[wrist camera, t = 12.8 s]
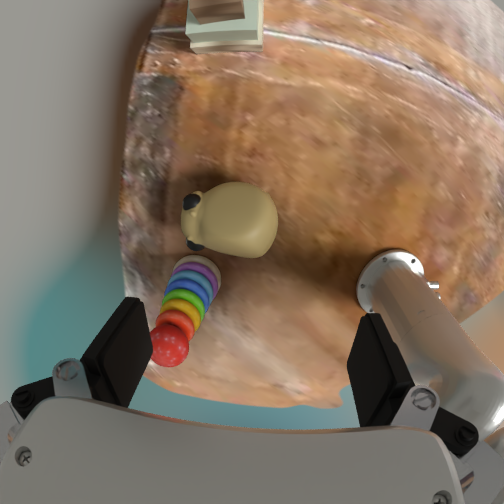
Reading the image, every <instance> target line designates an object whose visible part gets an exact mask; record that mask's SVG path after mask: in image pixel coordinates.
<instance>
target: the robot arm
mask: <svg viewBox="0 0 504 504" xmlns="http://www.w3.org/2000/svg"><path fill="white" fill-rule="evenodd" d="M438 287H439V283H438V282H437V281H431V282H429V281H428V280H427V279H426V278H425V276H424V270H423V266H422V264H421V262H420V261H419V260H418V258H417V257H416V256H415V255H413V254H412V253H410V252H409V251H405V250H400V249H395V250H389V251H386V252H383V253H381V254H379V255H378V256H376V257H375V258H373V259H372V260H371V261H370V262H369V263H368V264H367V265H366V266H365V267H364V269H363V270H362V272H361V274H360V276H359V278H358V282H357V287H356V293H357V298H358V301H359V303H360V305H361V307H362V308H363V309H364V310H365V311H366V312H367V313H366V315H365V316H362V317H361V320H360V323H359V326H358V330H357V333H356V336H355V339H354V342H353V346H352V349H351V352H350V355H349V358H348V361H347V370H348V374H349V379H350V383H351V387H352V391H353V395H354V400H355V405H356V409H357V413H358V419H359V424H360V427H358V428H342V429H318V430H284V429H259V428H245V427H234V426H233V427H232V426H224V425H215V424H208V423H200V422H194V421H187V420H181V419H176V418H170V417H165V416H160V415H155V414H151V413H146V412H142V411H138V410H134V409H129V408H128V406H129V404H130V401H131V399H132V397H133V395H134V392H135V390H136V388H137V385H138V384H139V381H140V379H141V377H142V375H143V373H144V371H145V369H146V367H147V364H148V362H149V360H150V358H151V356H152V354H153V345H152V341H151V336H150V332H149V327H148V323H147V318H146V313H145V308H144V304H143V302H140V299H139V298H135V297H125V299H124V300H123V301H122V302H121V304H120V305H119V306H118V308H117V309H116V310H115V312H114V313H113V314H112V316H111V317H110V318H109V320H108V321H107V322H106V324H105V325H104V326H103V328H102V329H101V330H100V332H99V333H98V335H97V336H96V337H95V339H94V340H93V342H92V343H91V344H90V346H89V347H88V349H87V350H86V351H85V353H84V354H83V356H82V358H81V359H80V361H79V360H77V359H75V358H67V359H64V360H61V361H60V362H58V363H57V364H56V365H55V366H54V368H53V372H52V375H53V376H52V377H49V378H46V379H43V380H39V381H37V382H33V383H31V384H27V385H24V386H21V387H19V388H18V389H16V390H15V391H14V393H13V395H12V397H11V402H10V403H9V402H8V401H6V402H4V403H2V404H1V405H0V504H504V427H502V428H500V429H499V430H497V431H495V429H497V428H498V427H499V426H500V424H501V423H502V422H503V421H504V375H503V374H502V372H501V371H500V370H499V369H498V368H497V367H496V366H495V365H494V364H493V363H492V362H491V361H490V359H489V358H488V357H487V356H486V355H484V354H483V352H482V351H481V350H480V349H479V348H478V347H477V346H476V345H475V344H474V342H473V341H472V340H471V339H470V337H469V336H468V335H467V333H466V332H465V331H464V330H463V328H462V327H461V326H460V324H459V323H458V322H457V320H456V319H455V318H454V316H453V315H452V314H451V312H450V311H449V310H448V309H447V307H446V306H445V305H444V303H443V302H442V301H441V300H440V294H439V293H438V292H434V291H433V290H432V289H438ZM414 382H415V383H418V384H421V385H418V386H415V384H414ZM494 431H495V432H494ZM493 432H494V433H493Z"/></svg>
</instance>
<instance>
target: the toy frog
mask: <svg viewBox="0 0 504 504" xmlns="http://www.w3.org/2000/svg"><path fill="white" fill-rule="evenodd" d="M181 229H182V232H183V234H184V236H185V237H186V244H187V246H188V247H189V248H190V249H191V250H193V251H200V250H202V249H204V248H205V247H206V248H209V249H211V250H214V251H217V252H220V253H224V254H229V255H234V256H239V257H246V258H257V257H261V256H262V255H264V254H265V253H266V252H267V251H268V250H269V248H270V247H271V245H272V243H273V241H274V239H275V237H276V233H277V229H278V214H277V210H276V207H275V204H274V202H273V200H272V199H271V197H270V195H269V193H267V192H265V191H264V190H262V189H261V188H259V187H257V186H255V185H253V184H250V183H245V182H228V183H223V184H220V185H218V186H216V187H214V188H212V189H211V190H209V191H207V192H206V193H203V192H201V191H195V192H193V193H192V194H188V195H187V196H186V197H185V198H184V200H183V208H182V212H181Z"/></svg>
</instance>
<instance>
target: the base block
mask: <svg viewBox="0 0 504 504" xmlns="http://www.w3.org/2000/svg"><path fill="white" fill-rule="evenodd" d="M263 17H264V0H259V25H258V40H235V41H214V42H202V43H193V42H192V40H190V48H191V49H192V50H193V51H194V52H195V53H196V54H208V53H226V52H263Z"/></svg>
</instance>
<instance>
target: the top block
mask: <svg viewBox="0 0 504 504" xmlns="http://www.w3.org/2000/svg"><path fill="white" fill-rule="evenodd" d="M243 3H244V13H245V19H237V20H228V21H221V22H214V23H208V24H202V25H200V23H199V22H198V20H197V19H196V18H195V16H194V15H193V13H192V12H191V11H190V9H189V0H188V7H187V19H186V33H185V34H186V35H187V36H188V37H189V38H190V39H191V40H192V42H193V43H202V42H214V41H235V40H258V25H259V0H243Z"/></svg>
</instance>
